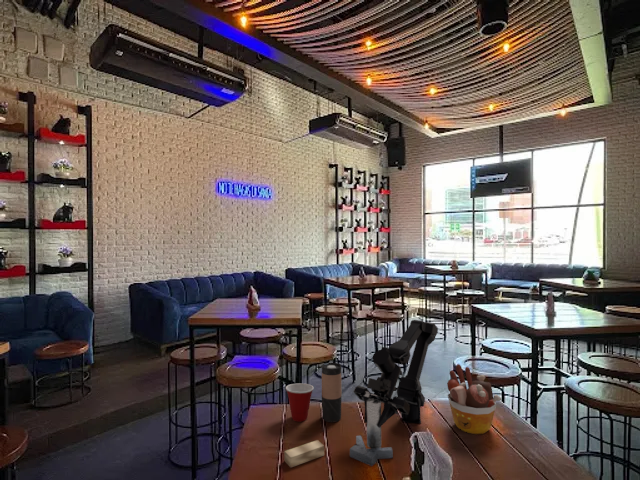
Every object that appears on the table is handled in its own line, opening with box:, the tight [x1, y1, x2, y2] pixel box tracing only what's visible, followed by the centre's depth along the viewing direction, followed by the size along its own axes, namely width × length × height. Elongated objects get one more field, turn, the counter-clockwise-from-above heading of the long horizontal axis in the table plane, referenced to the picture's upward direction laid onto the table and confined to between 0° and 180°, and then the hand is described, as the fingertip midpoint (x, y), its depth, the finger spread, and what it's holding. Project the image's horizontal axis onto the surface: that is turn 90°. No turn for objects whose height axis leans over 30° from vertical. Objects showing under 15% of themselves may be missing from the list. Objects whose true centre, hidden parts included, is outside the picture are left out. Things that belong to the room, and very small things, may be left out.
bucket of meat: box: [446, 363, 502, 435], centre depth 136 cm, size 20×16×20 cm
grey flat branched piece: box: [349, 435, 394, 467], centre depth 118 cm, size 9×14×2 cm, turn 51°
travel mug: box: [321, 362, 342, 423], centre depth 143 cm, size 8×8×20 cm
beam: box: [283, 439, 325, 468], centre depth 116 cm, size 12×4×3 cm, turn 123°
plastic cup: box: [285, 383, 314, 423], centre depth 143 cm, size 11×11×12 cm
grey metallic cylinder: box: [366, 398, 382, 449], centre depth 121 cm, size 5×5×14 cm
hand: (371, 424), depth 120 cm, fingers closed on grey metallic cylinder, 4 cm apart
